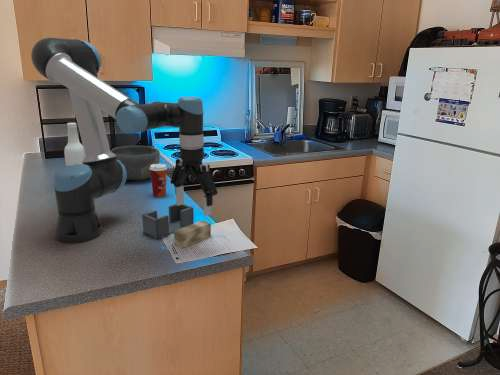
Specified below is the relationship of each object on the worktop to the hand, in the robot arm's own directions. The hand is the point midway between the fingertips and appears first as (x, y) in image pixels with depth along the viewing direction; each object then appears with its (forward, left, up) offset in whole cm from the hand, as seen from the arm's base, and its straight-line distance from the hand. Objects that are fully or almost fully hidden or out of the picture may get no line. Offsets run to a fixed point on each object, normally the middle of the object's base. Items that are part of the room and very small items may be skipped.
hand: (193, 209), depth 128 cm
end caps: (0, +13, -11) cm, 17 cm away
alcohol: (+1, +82, -11) cm, 83 cm away
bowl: (+28, +75, -11) cm, 81 cm away
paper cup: (+20, +45, -11) cm, 51 cm away
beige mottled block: (0, 0, -11) cm, 11 cm away
